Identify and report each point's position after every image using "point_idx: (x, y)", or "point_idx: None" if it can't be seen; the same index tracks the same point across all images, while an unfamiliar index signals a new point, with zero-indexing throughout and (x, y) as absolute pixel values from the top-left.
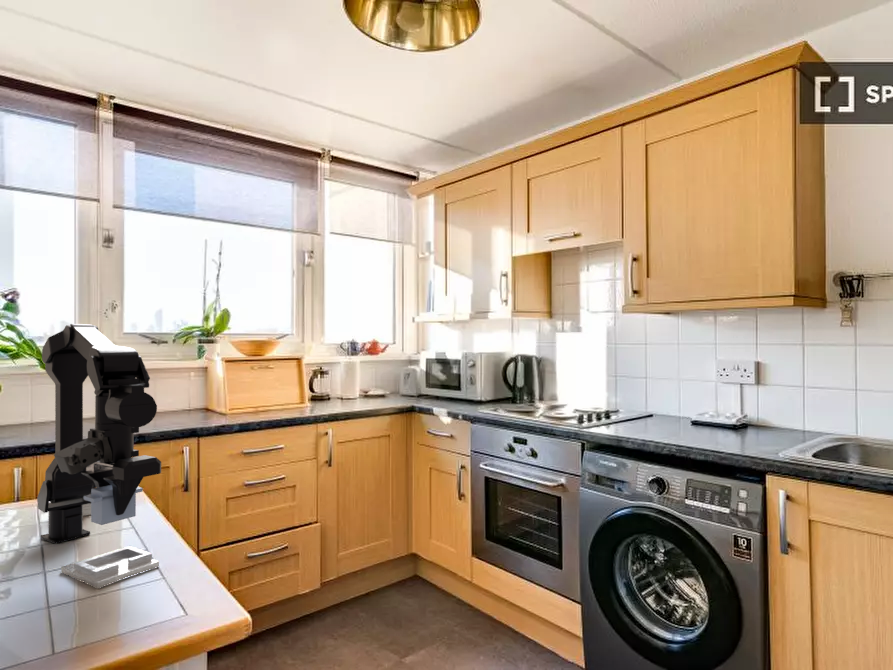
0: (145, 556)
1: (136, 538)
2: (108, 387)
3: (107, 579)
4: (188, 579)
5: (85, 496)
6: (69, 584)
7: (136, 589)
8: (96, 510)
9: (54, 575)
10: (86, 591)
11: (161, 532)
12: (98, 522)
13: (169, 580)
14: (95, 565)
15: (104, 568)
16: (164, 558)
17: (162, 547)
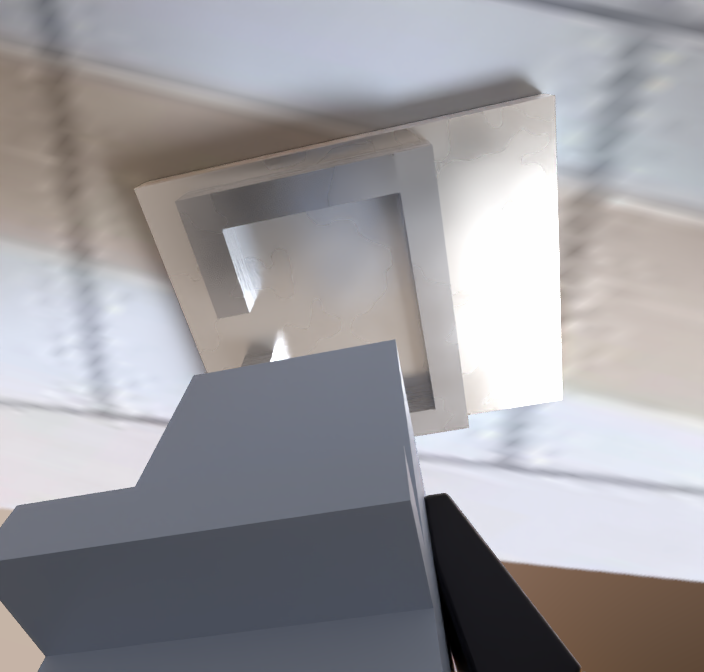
0: None
1: (699, 478)
2: None
3: (155, 236)
4: (31, 463)
5: (326, 514)
6: (317, 86)
7: (35, 304)
8: (272, 444)
9: (534, 52)
10: (150, 130)
11: (668, 557)
12: (247, 374)
13: (62, 418)
14: (405, 244)
15: (204, 250)
16: None
17: (475, 508)
